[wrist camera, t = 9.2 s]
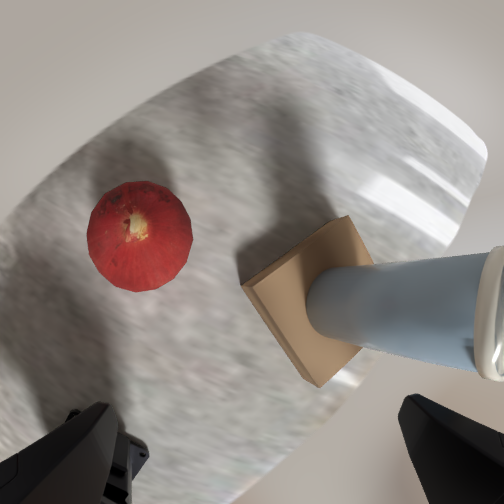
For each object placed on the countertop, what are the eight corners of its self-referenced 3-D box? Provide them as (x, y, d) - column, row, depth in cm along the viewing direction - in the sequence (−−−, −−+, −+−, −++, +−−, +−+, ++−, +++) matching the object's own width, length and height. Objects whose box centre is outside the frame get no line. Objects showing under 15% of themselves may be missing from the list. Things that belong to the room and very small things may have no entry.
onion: (86, 226, 17) (46, 195, 10) (159, 185, 19) (165, 131, 11) (127, 303, 18) (108, 323, 10) (200, 260, 20) (230, 250, 12)
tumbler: (334, 355, 19) (500, 403, 7) (288, 304, 19) (480, 327, 6) (375, 300, 21) (534, 304, 9) (337, 248, 20) (511, 216, 8)
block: (303, 378, 21) (319, 388, 19) (240, 285, 20) (252, 287, 18) (376, 309, 24) (396, 311, 22) (330, 220, 23) (348, 215, 21)
